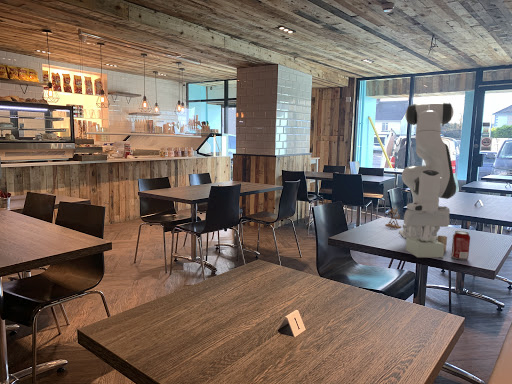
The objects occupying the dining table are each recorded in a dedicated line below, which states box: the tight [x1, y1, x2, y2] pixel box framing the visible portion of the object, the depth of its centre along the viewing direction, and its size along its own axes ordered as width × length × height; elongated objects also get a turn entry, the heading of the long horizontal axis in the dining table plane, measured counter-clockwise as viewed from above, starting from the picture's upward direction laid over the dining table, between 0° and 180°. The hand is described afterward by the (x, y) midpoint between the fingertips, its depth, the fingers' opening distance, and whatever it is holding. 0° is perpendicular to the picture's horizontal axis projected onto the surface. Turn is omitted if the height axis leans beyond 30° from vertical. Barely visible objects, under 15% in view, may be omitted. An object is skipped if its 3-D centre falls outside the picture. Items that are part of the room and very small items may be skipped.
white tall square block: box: [420, 225, 431, 243], centre depth 181 cm, size 4×4×14 cm
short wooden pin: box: [436, 235, 448, 253], centre depth 187 cm, size 4×4×7 cm
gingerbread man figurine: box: [385, 206, 402, 230], centre depth 238 cm, size 9×4×12 cm, turn 35°
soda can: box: [450, 230, 471, 261], centre depth 175 cm, size 7×7×12 cm
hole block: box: [405, 238, 445, 258], centre depth 182 cm, size 12×12×6 cm
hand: (425, 235), depth 181 cm, fingers open, 7 cm apart
